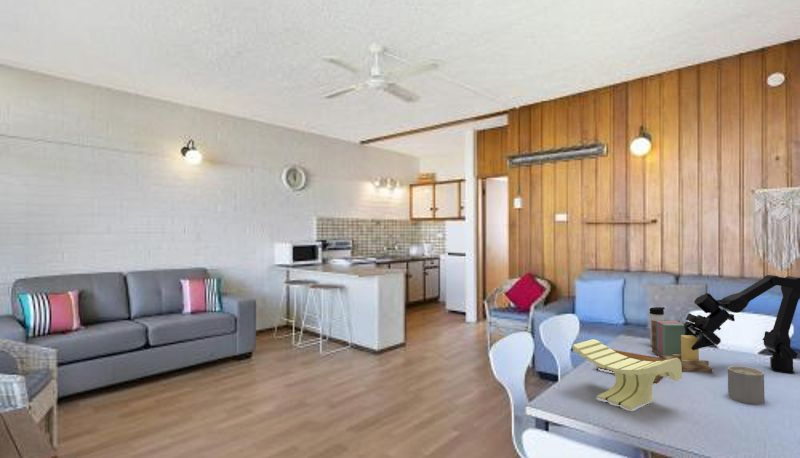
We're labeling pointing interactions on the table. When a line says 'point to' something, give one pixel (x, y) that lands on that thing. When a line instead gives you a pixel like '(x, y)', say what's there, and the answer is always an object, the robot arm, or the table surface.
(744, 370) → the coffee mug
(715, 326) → the robot arm
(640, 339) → the table surface
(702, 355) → the table surface
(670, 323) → the book row
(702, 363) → the shelf slot board
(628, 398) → the slatted curved stool
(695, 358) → the pale yellow cuboid
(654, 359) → the diary
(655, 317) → the travel mug
